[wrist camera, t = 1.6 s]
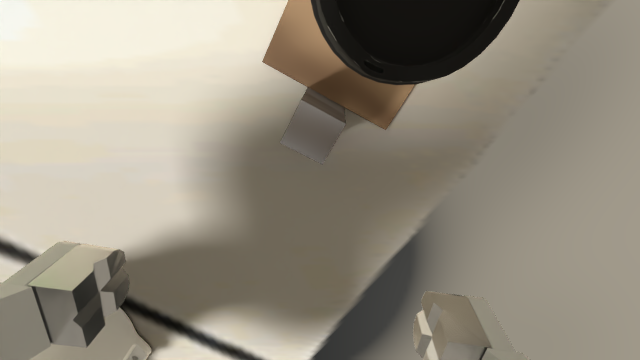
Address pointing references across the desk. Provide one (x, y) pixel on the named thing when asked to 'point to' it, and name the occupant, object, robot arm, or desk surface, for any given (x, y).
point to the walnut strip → (324, 85)
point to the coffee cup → (409, 35)
